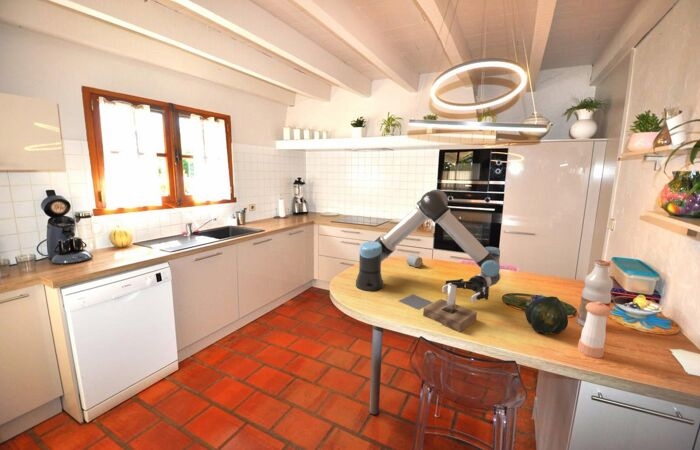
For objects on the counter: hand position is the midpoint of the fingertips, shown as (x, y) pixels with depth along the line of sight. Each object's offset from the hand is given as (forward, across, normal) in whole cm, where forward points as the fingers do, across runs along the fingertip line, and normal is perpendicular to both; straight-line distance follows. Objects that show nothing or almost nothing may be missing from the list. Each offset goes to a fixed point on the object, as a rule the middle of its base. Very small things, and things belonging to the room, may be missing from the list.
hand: (456, 294), depth 131 cm
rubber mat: (+2, +19, -10) cm, 22 cm away
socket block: (+4, 0, -10) cm, 11 cm away
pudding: (-40, -21, -11) cm, 47 cm away
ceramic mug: (-44, +53, -10) cm, 70 cm away
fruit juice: (-37, -41, -10) cm, 57 cm away
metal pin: (+4, 0, -10) cm, 11 cm away
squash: (-18, -29, -10) cm, 36 cm away
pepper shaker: (-13, -45, -10) cm, 48 cm away
